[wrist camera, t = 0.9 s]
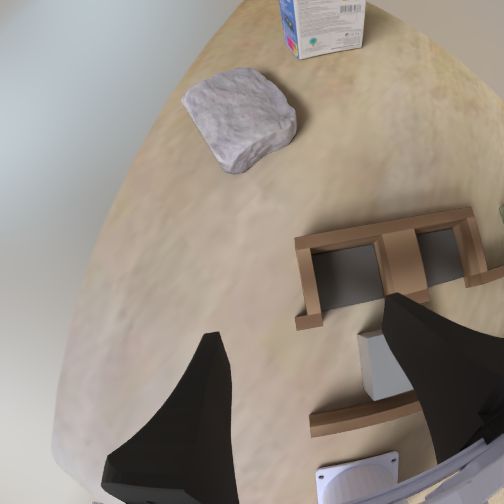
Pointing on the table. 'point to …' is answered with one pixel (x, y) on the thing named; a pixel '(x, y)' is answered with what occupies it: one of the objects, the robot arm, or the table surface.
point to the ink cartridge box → (322, 25)
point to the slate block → (380, 367)
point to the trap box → (386, 284)
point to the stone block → (241, 117)
